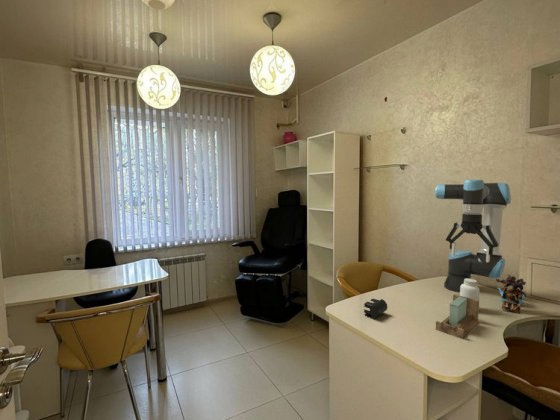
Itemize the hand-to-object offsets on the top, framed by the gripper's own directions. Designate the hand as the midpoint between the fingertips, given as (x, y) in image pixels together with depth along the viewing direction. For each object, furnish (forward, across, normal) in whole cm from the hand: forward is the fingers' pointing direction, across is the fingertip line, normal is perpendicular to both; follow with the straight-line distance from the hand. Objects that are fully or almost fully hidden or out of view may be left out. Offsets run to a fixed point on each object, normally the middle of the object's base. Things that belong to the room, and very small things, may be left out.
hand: (469, 258), depth 129 cm
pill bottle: (+28, -2, +10) cm, 30 cm away
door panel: (+26, 0, -14) cm, 30 cm away
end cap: (+27, -29, -32) cm, 51 cm away
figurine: (+28, +12, +24) cm, 39 cm away
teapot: (+29, +10, +36) cm, 47 cm away
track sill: (+27, 0, -14) cm, 31 cm away
